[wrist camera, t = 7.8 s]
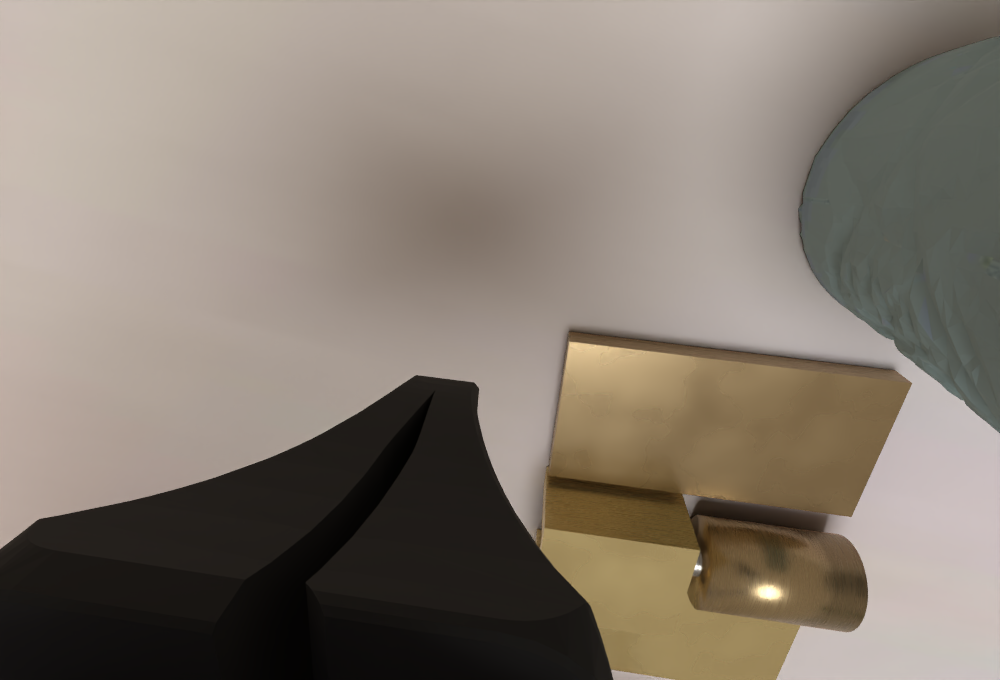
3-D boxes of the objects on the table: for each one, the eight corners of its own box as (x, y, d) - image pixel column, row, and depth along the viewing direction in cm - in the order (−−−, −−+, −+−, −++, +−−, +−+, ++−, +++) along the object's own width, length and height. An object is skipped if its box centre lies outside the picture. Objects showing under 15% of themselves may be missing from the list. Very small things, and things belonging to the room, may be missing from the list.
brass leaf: (521, 636, 27) (515, 712, 23) (546, 466, 23) (544, 528, 19) (761, 673, 26) (792, 757, 23) (834, 505, 22) (885, 577, 18)
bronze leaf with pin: (537, 539, 24) (533, 606, 21) (568, 331, 20) (570, 373, 17) (805, 578, 23) (845, 653, 20) (895, 370, 19) (964, 422, 16)
